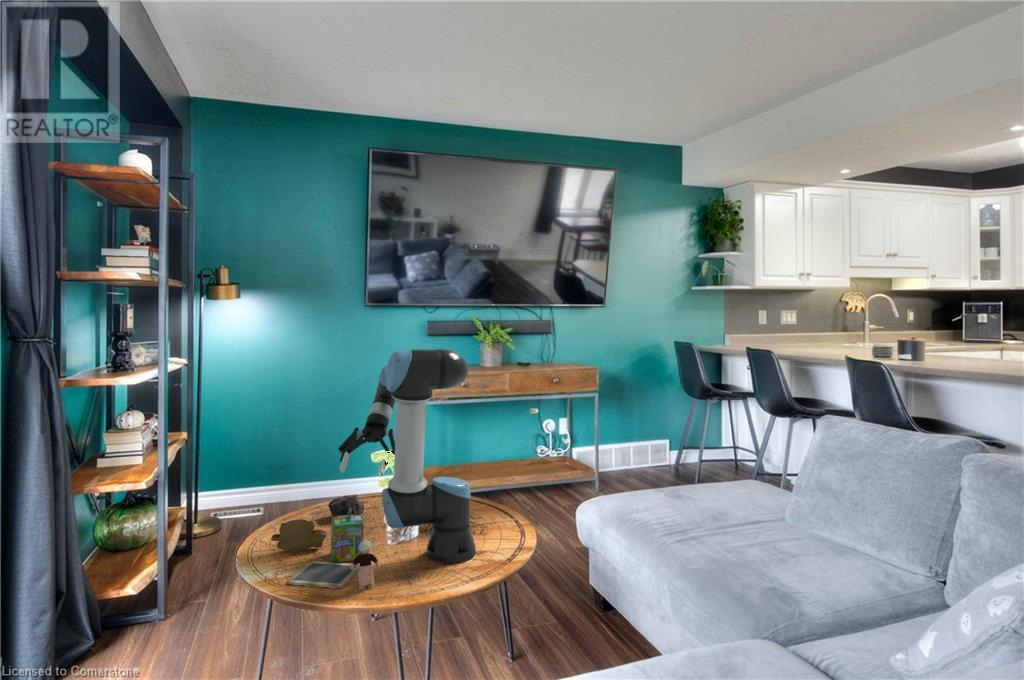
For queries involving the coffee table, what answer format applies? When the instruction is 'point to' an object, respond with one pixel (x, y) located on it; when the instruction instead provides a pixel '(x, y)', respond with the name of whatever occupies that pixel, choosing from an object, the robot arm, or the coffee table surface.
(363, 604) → the coffee table surface
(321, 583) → the chalkboard
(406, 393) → the robot arm
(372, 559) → the grandmother figurine
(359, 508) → the rock
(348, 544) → the chalk box
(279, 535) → the wooden carving
